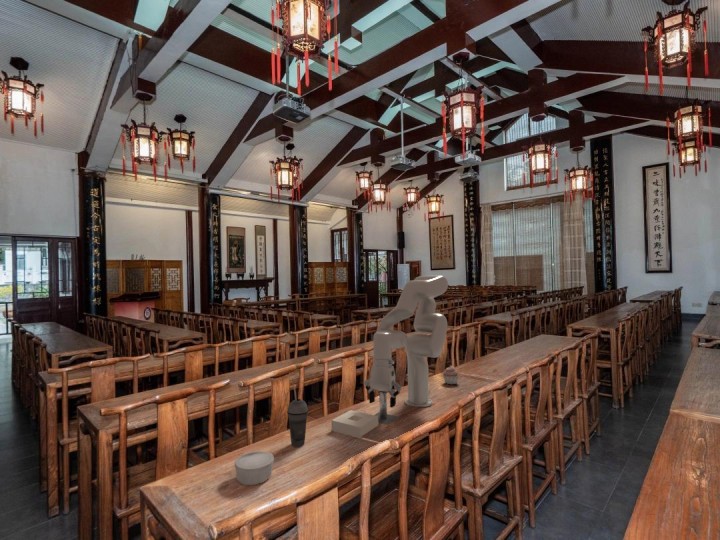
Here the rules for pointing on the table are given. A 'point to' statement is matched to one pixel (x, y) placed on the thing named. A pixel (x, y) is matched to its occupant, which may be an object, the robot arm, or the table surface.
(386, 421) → the mat
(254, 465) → the ramekin
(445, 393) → the table surface
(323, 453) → the table surface
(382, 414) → the peg
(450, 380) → the cupcake
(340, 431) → the hole block
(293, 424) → the beverage cup
